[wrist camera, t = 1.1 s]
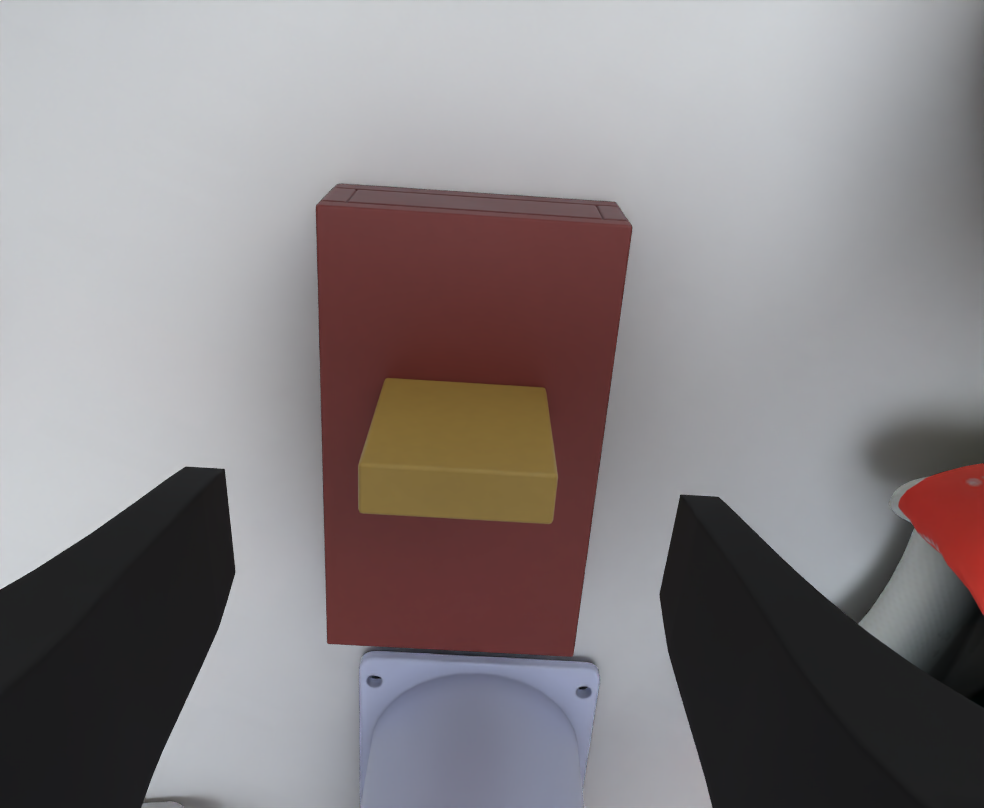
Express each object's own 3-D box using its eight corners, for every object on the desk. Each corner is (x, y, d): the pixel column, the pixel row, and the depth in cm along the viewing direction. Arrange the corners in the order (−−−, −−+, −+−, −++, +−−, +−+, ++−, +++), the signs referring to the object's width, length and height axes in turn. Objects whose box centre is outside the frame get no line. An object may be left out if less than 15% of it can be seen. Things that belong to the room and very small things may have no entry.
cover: (572, 646, 24) (589, 784, 20) (330, 632, 24) (293, 770, 20) (629, 220, 19) (671, 281, 15) (319, 200, 19) (265, 255, 14)
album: (567, 585, 26) (573, 631, 24) (342, 572, 26) (330, 618, 24) (616, 201, 21) (629, 220, 19) (336, 182, 21) (320, 199, 19)
